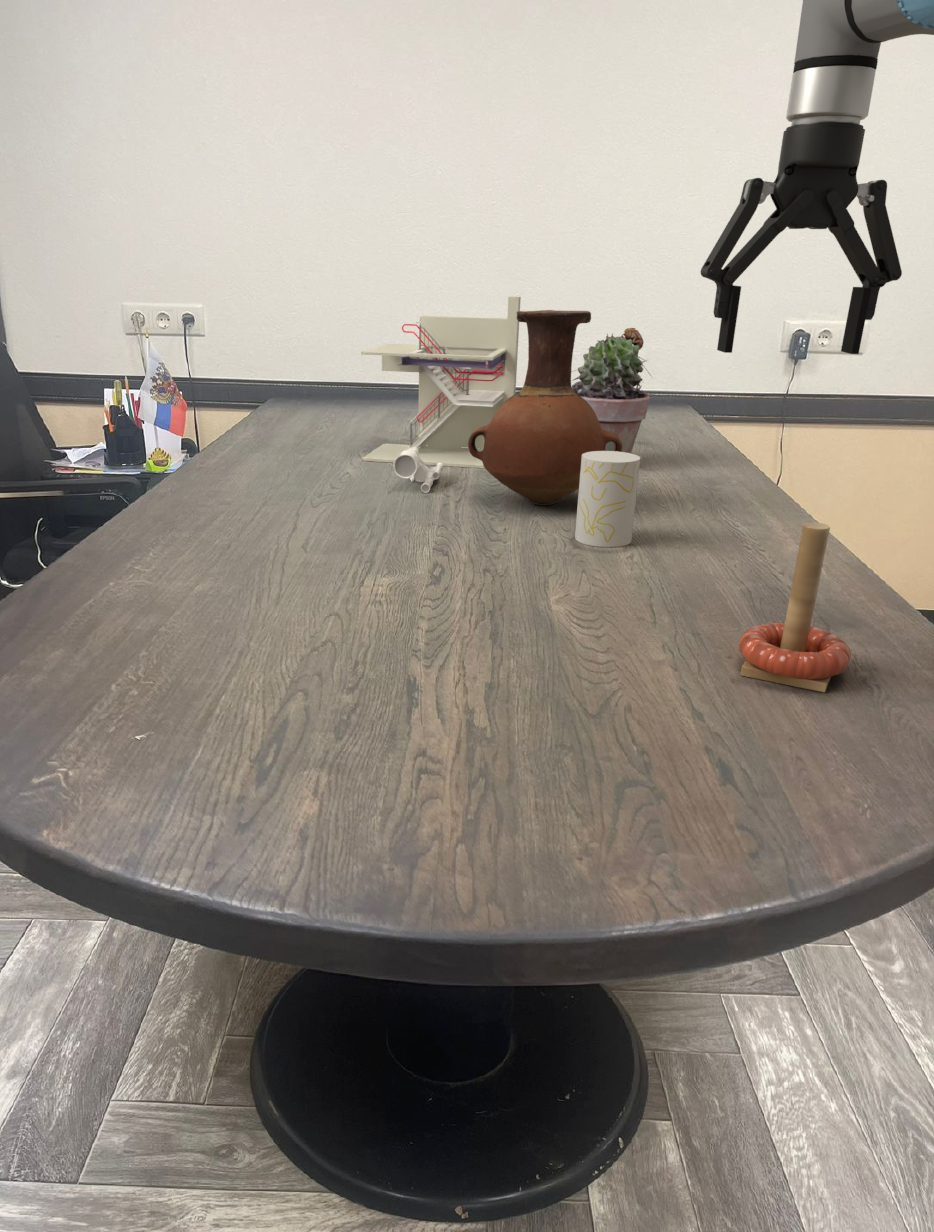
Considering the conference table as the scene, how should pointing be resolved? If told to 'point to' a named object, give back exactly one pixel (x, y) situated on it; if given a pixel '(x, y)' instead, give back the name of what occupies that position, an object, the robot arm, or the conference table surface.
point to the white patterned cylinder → (607, 498)
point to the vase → (543, 417)
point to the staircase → (454, 382)
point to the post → (800, 605)
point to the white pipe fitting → (416, 468)
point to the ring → (795, 653)
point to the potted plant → (615, 386)
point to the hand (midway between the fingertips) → (787, 352)
